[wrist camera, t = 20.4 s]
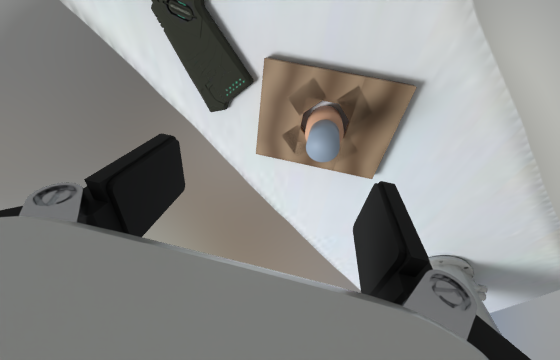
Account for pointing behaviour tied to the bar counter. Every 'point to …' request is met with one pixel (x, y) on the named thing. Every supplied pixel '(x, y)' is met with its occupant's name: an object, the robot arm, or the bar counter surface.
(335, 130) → the blue-grey rounded cylinder
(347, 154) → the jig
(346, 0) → the bar counter surface
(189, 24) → the firearm
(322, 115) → the tan rounded lump
